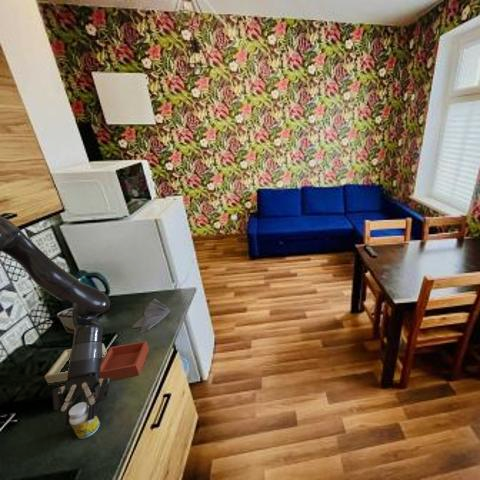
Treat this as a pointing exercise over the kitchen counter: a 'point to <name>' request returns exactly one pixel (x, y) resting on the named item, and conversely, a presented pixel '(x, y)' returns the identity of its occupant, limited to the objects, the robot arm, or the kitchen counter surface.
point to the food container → (67, 319)
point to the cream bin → (55, 373)
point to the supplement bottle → (82, 421)
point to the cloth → (152, 315)
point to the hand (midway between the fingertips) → (78, 422)
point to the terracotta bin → (124, 360)
